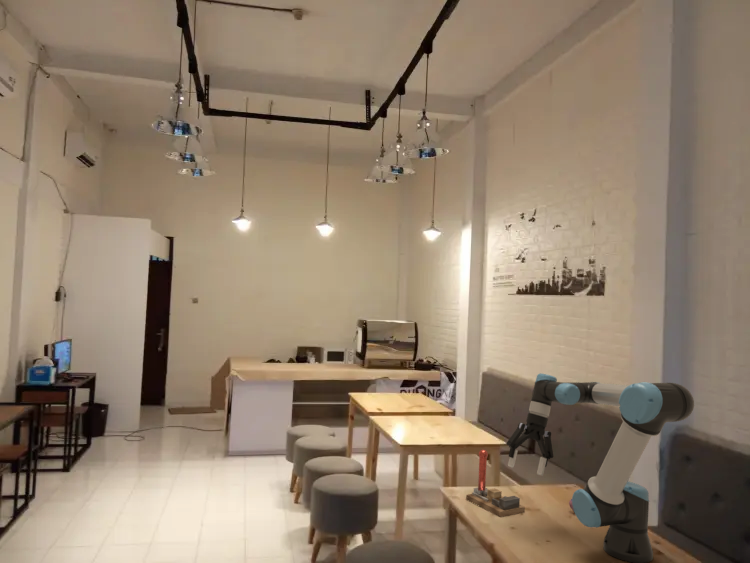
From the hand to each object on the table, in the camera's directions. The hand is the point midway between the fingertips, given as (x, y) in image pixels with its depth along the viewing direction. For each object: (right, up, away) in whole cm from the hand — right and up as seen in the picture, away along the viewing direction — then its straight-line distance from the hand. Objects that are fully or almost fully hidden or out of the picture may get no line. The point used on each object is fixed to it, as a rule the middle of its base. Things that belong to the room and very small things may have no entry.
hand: (525, 471), depth 202 cm
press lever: (-11, -18, +24) cm, 32 cm away
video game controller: (+27, -22, +16) cm, 39 cm away
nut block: (-7, -18, +19) cm, 28 cm away
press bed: (-7, -20, +19) cm, 29 cm away
